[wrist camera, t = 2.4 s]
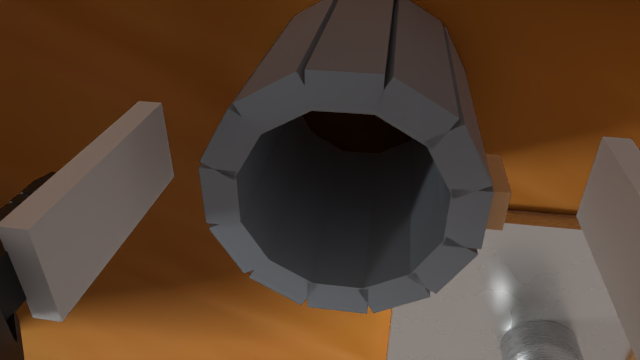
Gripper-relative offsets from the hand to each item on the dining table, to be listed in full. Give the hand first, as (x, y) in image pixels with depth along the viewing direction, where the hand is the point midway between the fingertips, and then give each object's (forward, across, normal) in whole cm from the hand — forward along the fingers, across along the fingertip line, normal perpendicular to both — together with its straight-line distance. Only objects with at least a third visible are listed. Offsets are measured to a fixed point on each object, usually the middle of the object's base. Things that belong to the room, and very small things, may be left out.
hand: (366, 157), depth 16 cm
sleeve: (+5, -1, 0) cm, 5 cm away
